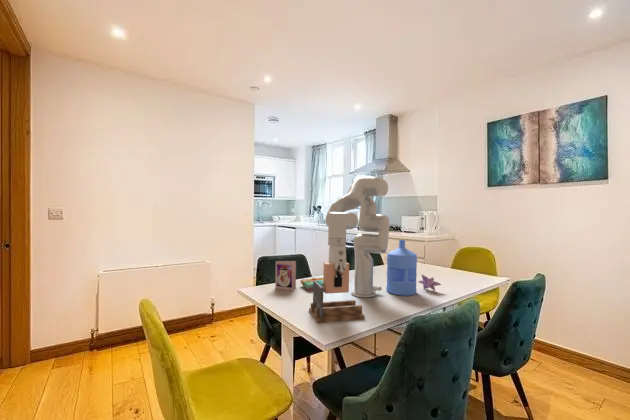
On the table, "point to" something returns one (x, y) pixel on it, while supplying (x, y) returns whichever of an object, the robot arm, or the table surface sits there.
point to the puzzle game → (311, 283)
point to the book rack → (333, 308)
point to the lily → (428, 283)
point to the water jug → (401, 271)
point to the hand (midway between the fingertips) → (336, 284)
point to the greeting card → (285, 275)
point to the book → (329, 279)
